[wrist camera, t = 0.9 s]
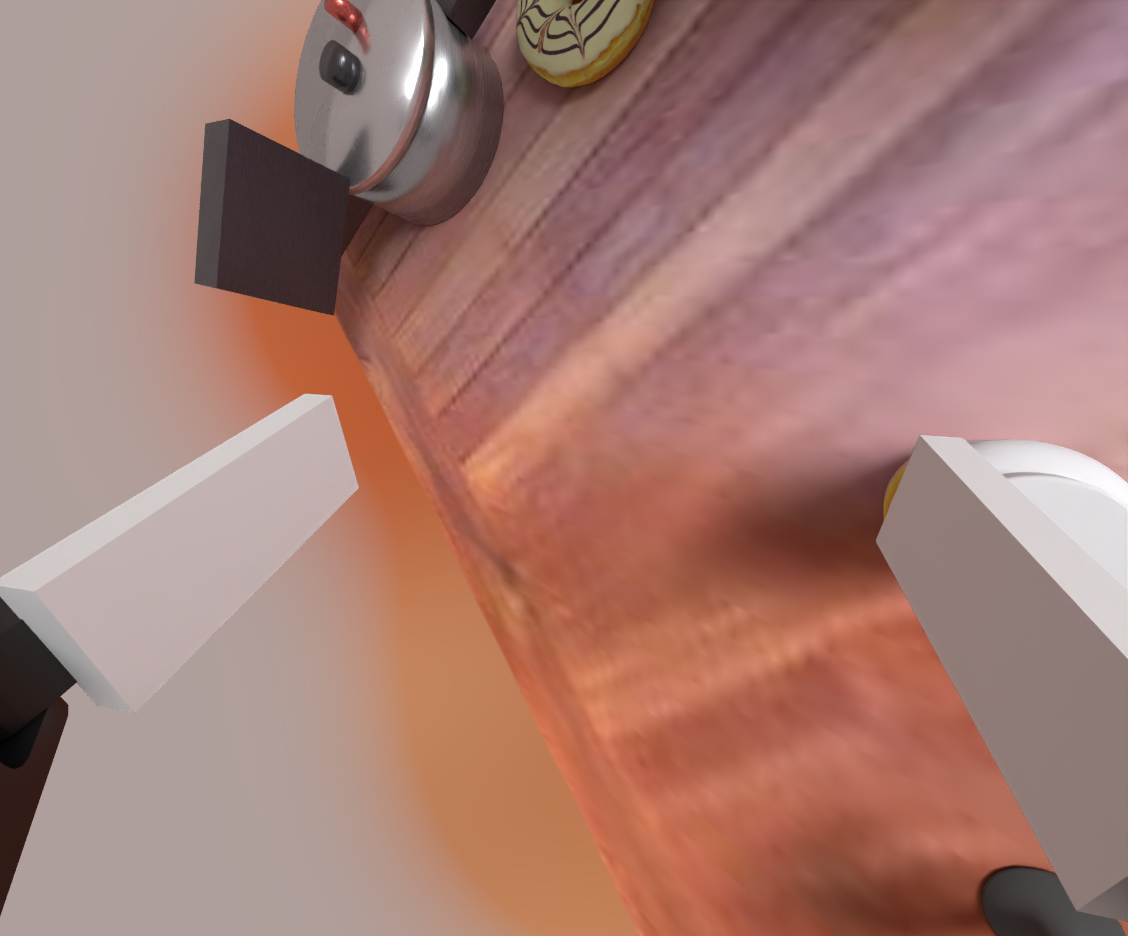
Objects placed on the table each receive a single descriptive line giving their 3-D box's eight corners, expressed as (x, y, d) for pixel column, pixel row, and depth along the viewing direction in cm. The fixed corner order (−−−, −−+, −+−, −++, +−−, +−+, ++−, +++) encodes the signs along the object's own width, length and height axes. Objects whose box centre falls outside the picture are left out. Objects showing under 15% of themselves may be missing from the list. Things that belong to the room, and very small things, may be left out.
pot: (472, -35, 40) (402, -118, 34) (559, 76, 35) (495, 4, 30) (328, 221, 52) (258, 193, 46) (379, 325, 48) (310, 309, 42)
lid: (321, -10, 39) (183, -121, 31) (452, -65, 31) (311, -233, 23) (287, 305, 44) (161, 276, 36) (394, 329, 36) (260, 297, 28)
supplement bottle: (880, 564, 26) (878, 649, 15) (886, 439, 25) (888, 437, 15) (1054, 586, 22) (1217, 720, 11) (1065, 441, 22) (1243, 438, 11)
